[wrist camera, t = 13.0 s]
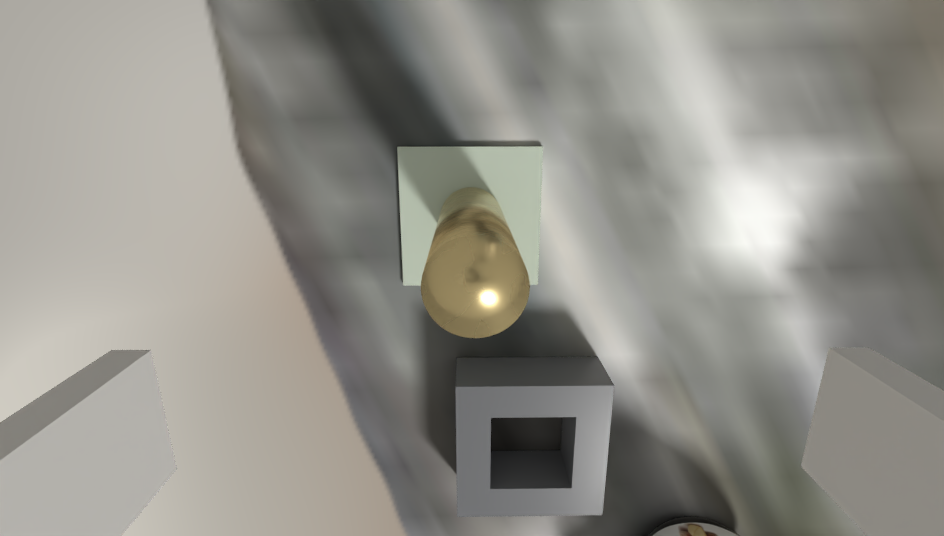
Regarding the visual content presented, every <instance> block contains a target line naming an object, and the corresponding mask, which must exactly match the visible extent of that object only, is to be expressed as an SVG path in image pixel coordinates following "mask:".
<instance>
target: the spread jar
mask: <svg viewBox="0 0 944 536" xmlns="http://www.w3.org/2000/svg"><path fill="white" fill-rule="evenodd" d="M648 536H740V535H739V534H737V533H735V532H734V531H732V530H730V529H728V528H727V527H725V526H723V525H721V524H719V523H717V522H715V521H712V520H709V519H706V518H702V517H694V516H687V517H679V518H675V519H672V520H669V521H667V522H664V523H663V524H661V525H659V526H658V527H657V528H655V529H654V530H653V531H652V532H651V533H650V534H649V535H648Z"/></svg>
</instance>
